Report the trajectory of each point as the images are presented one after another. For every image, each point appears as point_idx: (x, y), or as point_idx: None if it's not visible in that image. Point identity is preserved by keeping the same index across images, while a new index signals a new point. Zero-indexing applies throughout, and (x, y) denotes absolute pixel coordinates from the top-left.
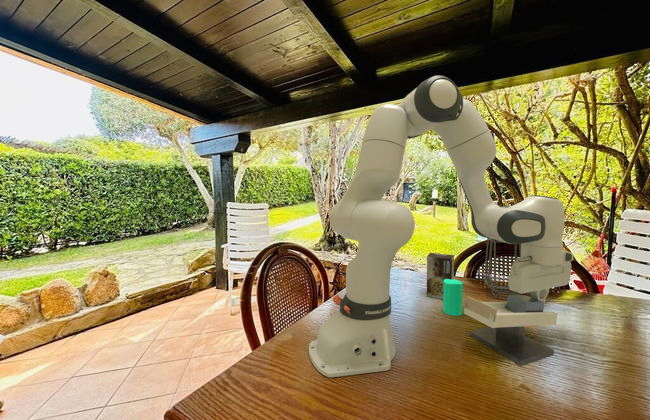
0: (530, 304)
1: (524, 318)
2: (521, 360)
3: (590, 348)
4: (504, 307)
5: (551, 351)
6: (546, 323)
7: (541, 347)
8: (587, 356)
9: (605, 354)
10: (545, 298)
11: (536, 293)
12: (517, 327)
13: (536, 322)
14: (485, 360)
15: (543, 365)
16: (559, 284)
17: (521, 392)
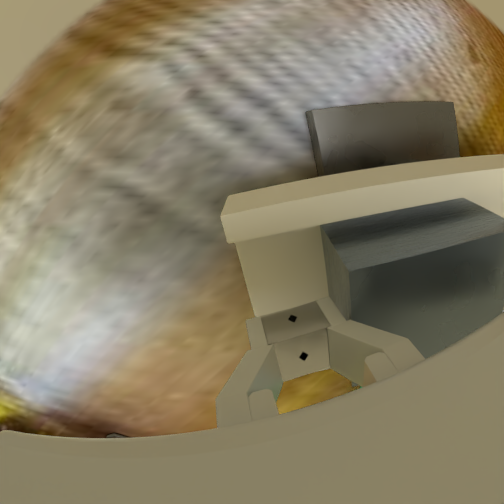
0: (484, 227)
1: (501, 162)
2: (451, 102)
3: (111, 133)
4: None
5: (325, 108)
6: (323, 178)
7: (345, 134)
8: (181, 81)
9: (98, 94)
10: (252, 344)
11: (410, 344)
12: None
13: (414, 165)
14: (486, 150)
15: (390, 78)
16: (80, 454)
17: (482, 50)
